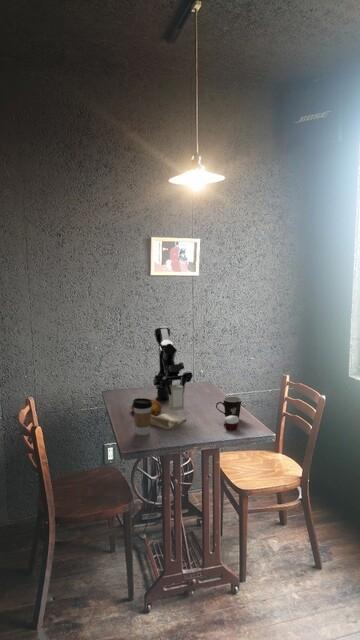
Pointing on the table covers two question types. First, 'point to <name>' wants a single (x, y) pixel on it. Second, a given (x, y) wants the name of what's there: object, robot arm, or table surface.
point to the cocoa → (232, 420)
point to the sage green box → (176, 397)
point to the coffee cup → (142, 415)
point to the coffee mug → (230, 406)
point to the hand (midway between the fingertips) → (177, 394)
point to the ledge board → (166, 420)
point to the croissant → (153, 407)
